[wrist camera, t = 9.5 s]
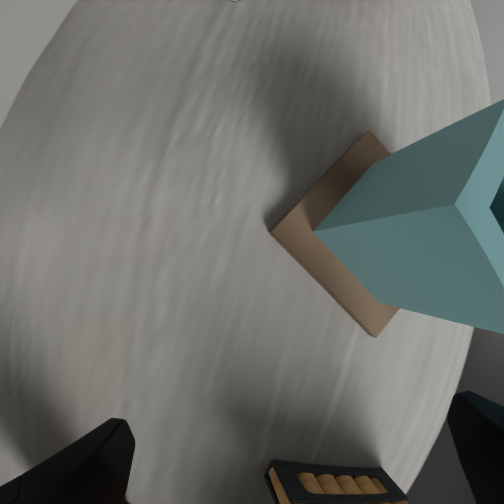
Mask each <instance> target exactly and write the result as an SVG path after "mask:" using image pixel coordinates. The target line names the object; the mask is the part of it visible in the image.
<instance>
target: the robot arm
mask: <svg viewBox="0 0 504 504" xmlns="http://www.w3.org/2000/svg"><path fill="white" fill-rule="evenodd" d="M447 421H448V425H449V428H450V431H451V434H452V437H453V441H454V444H455V447H456V450H457V454H458V457H459V460H460V463H461V466H462V468H463V470H464V473H465V475H466V478H467V480H468V483H469V485H470V488H471V490H472V493H473V495H474V498H475V501H476V503H477V504H504V406H501V405H499V404H497V403H495V402H493V401H490V400H489V399H486V398H484V397H482V396H480V395H478V394H476V393H474V392H471V391H469V390H464V391H461V392H458V393H455V395H454V396H453V399H452V402H451V405H450V408H449V411H448V414H447ZM134 450H135V439H134V436H133V434H132V432H131V429H130V427H129V425H128V423H127V421H126V420H124V419H120V418H111V419H109V420H107V421H106V422H104V423H103V424H101V425H100V426H98V427H97V428H95V429H94V430H92V431H91V432H89V433H88V434H86V435H85V436H83V437H82V438H80V439H78V440H77V441H75V442H74V443H72V444H71V445H69V446H68V447H66V448H64V449H63V450H61V451H60V452H58V453H56V454H55V455H53V456H52V457H50V458H48V459H47V460H45V461H43V462H42V463H40V464H39V465H37V466H35V467H34V468H32V469H30V470H29V471H27V472H25V473H23V474H22V476H21V475H20V476H18V477H17V478H15V479H13V480H11V481H9V482H8V483H6V484H4V485H2V486H0V504H127V503H126V502H125V501H123V500H124V496H125V493H126V490H127V485H128V481H129V475H130V470H131V465H132V460H133V455H134Z"/></svg>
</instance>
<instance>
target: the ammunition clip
mask: <svg viewBox="0 0 504 504" xmlns="http://www.w3.org/2000/svg"><path fill="white" fill-rule="evenodd" d="M264 478H265V480H266V483H267V485H268V488H269V490H270V492H271V495H272V497H273V499H274V502H275V504H408V503H407V501H408V500H409V498H408V497H407V496H406V495H405V494H404V492H403V491H402V490H401V489H400V488H399V487H398V486H397V485H396V483H395V482H394V481H393V480H392V479H391V478H390V477H389V475H388V474H387V473H386V472H385V471H384V470H383V469H382V468H357V467H338V466H325V465H315V464H305V463H297V462H289V461H282V460H276V459H275V460H273V461H272V462H271V464H270V466H269V468H268V470H267V472H266V473H265V475H264ZM405 500H406V501H405Z"/></svg>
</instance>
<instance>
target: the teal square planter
mask: <svg viewBox="0 0 504 504" xmlns="http://www.w3.org/2000/svg"><path fill="white" fill-rule="evenodd" d="M313 233H314V234H315V235H316V236H317V237H318V238H319V239H320V240H321V241H322V242H323V243H324V245H325V246H326V247H327V248H328V249H329V250H330V251H331V252H332V253H333V254H334V255H335V256H336V257H337V258H338V259H339V260H340V261H341V263H342V264H343V265H344V266H345V267H346V268H347V269H348V270H349V271H350V272H351V273H352V274H353V275H354V277H355V278H356V279H357V280H358V281H359V282H360V283H361V284H362V285H363V286H364V287H365V289H366V290H367V291H368V292H369V293H370V294H371V295H372V296H373V297H374V299H375V300H376V301H377V302H379V303H383V304H387V305H391V306H395V307H398V308H402V309H406V310H410V311H414V312H418V313H422V314H426V315H430V316H434V317H438V318H442V319H446V320H450V321H454V322H458V323H462V324H466V325H470V326H474V327H478V328H482V329H486V330H490V331H494V332H498V333H503V334H504V100H502V101H499V102H497V103H495V104H493V105H491V106H489V107H487V108H485V109H482V110H480V111H478V112H476V113H474V114H472V115H470V116H468V117H466V118H464V119H462V120H460V121H458V122H456V123H453V124H451V125H449V126H447V127H445V128H443V129H441V130H439V131H437V132H435V133H433V134H431V135H429V136H427V137H425V138H423V139H421V140H419V141H417V142H415V143H413V144H411V145H409V146H407V147H405V148H403V149H401V150H399V151H397V152H395V153H393V154H391V155H389V156H387V157H385V158H383V159H381V160H379V161H377V162H375V163H373V164H372V165H371V166H370V167H369V169H368V170H367V171H366V172H365V173H364V174H363V175H362V177H361V178H360V179H359V180H358V181H357V182H356V183H355V185H354V186H353V187H352V188H351V189H350V190H349V191H348V193H347V194H346V195H345V196H344V197H343V198H342V199H341V200H340V202H339V203H338V204H337V205H336V206H335V207H334V208H333V209H332V211H331V212H330V213H329V214H328V215H327V216H326V217H325V218H324V219H323V221H322V222H321V223H320V224H319V225H318V226H317V227H316V228H315V229H314V231H313Z"/></svg>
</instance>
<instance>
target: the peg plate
mask: <svg viewBox="0 0 504 504" xmlns="http://www.w3.org/2000/svg"><path fill="white" fill-rule="evenodd" d="M389 155H391V154H390V153H389V152H388V151H387V149H386V148H385V147H384V146H383V145H382V144H381V143H380V142H379V140H378V139H377V138H376V137H375V136H374V135H373V134H372V133H371V132H370V131H369V130H368V131H367V132H365V133H364V134H363V135H362V136H361V137H360V138H359V139H358V140H357V141H356V142H355V143H354V144H353V145H352V146H351V147H350V148H349V149H348V150H347V151H346V152H345V153H344V154H343V155H342V156H341V158H340V159H339V160H338V161H337V162H336V163H335V164H334V165H333V166H332V167H331V168H330V169H329V170H328V171H327V172H326V173H325V174H324V175H323V176H322V177H321V178H320V179H319V180H318V181H317V183H316V184H315V185H314V186H313V187H312V188H311V189H310V190H309V191H308V192H307V193H306V194H305V195H304V196H303V197H302V198H301V199H300V200H299V201H298V202H297V203H296V204H295V205H294V207H293V208H292V209H291V210H290V211H289V212H288V213H287V214H286V215H285V216H284V217H283V218H282V219H281V220H280V221H279V222H278V223H277V224H276V225H275V226H274V227H273V228H272V229H271V231H270V232H269V233H270V234H271V235H272V236H273V237H274V238H275V239H276V240H277V241H278V242H279V243H280V244H281V245H282V246H283V247H284V248H285V249H286V250H287V251H288V252H289V253H290V254H291V255H292V257H293V258H294V259H295V260H296V261H297V262H298V263H299V264H300V265H301V266H302V267H303V268H304V269H305V270H306V271H307V272H308V273H309V274H310V275H311V276H312V277H313V278H314V279H315V280H316V281H317V282H318V283H319V284H320V285H321V286H322V287H323V288H324V289H325V290H326V291H327V292H328V293H329V294H330V295H331V296H332V297H333V298H334V299H335V300H336V301H337V302H338V303H339V304H340V305H341V307H342V308H343V309H344V310H345V311H346V312H347V313H348V314H349V315H350V316H351V317H352V318H353V319H354V320H355V321H356V322H357V323H358V324H359V325H360V326H361V327H362V328H363V329H364V330H365V332H366V333H367V334H368V335H370V336H372V337H374V338H376V337H377V336H378V335H379V334H380V332H381V331H382V330H383V329H384V327H385V326H386V325H387V324H388V322H389V321H390V320H391V319H392V317H393V316H394V315H395V313H396V312H397V311H398V310H399V308H398V307H395V306H391V305H387V304H383V303H379V302H377V301H376V300H375V299H374V297H373V296H372V295H371V294H370V293H369V292H368V291H367V290H366V289H365V287H364V286H363V285H362V284H361V283H360V282H359V281H358V280H357V279H356V278H355V277H354V275H353V274H352V273H351V272H350V271H349V270H348V269H347V268H346V267H345V266H344V265H343V264H342V263H341V261H340V260H339V259H338V258H337V257H336V256H335V255H334V254H333V253H332V252H331V251H330V250H329V249H328V248H327V247H326V246H325V245H324V243H323V242H322V241H321V240H320V239H319V238H318V237H317V236H316V235H315V234H314V233H313V231H314V229H315V228H316V227H317V226H318V225H319V224H320V223H321V222H322V221H323V219H324V218H325V217H326V216H327V215H328V214H329V213H330V212H331V211H332V209H333V208H334V207H335V206H336V205H337V204H338V203H339V202H340V200H341V199H342V198H343V197H344V196H345V195H346V194H347V193H348V191H349V190H350V189H351V188H352V187H353V186H354V185H355V183H356V182H357V181H358V180H359V179H360V178H361V177H362V175H363V174H364V173H365V172H366V171H367V170H368V169H369V167H370V166H371V165H372V164H373V163H375V162H377V161H379V160H381V159H383V158H385V157H387V156H389Z"/></svg>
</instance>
